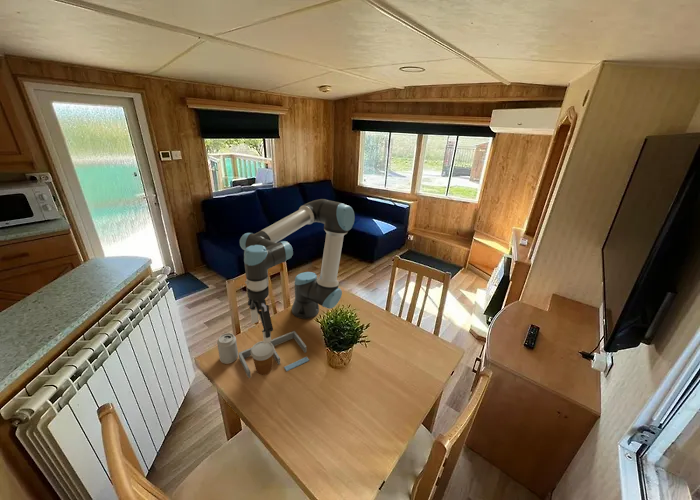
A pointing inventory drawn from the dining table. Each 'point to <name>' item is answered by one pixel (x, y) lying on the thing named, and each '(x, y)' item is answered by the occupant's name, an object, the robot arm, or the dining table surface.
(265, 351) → the disposable coffee cup
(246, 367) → the comb rack
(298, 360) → the blue rectangular block
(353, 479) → the dining table surface
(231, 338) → the can
